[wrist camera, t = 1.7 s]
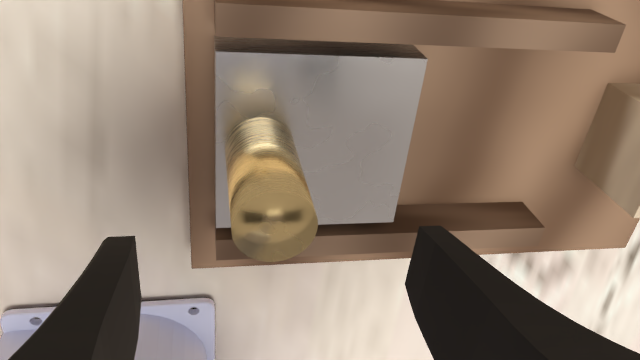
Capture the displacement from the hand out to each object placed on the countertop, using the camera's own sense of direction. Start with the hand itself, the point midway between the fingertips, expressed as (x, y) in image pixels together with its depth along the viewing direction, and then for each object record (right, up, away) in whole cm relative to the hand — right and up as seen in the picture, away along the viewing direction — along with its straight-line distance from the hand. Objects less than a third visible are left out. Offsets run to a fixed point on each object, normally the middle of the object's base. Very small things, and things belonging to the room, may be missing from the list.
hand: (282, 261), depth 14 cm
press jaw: (0, +4, +7) cm, 8 cm away
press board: (+6, +5, +10) cm, 13 cm away
